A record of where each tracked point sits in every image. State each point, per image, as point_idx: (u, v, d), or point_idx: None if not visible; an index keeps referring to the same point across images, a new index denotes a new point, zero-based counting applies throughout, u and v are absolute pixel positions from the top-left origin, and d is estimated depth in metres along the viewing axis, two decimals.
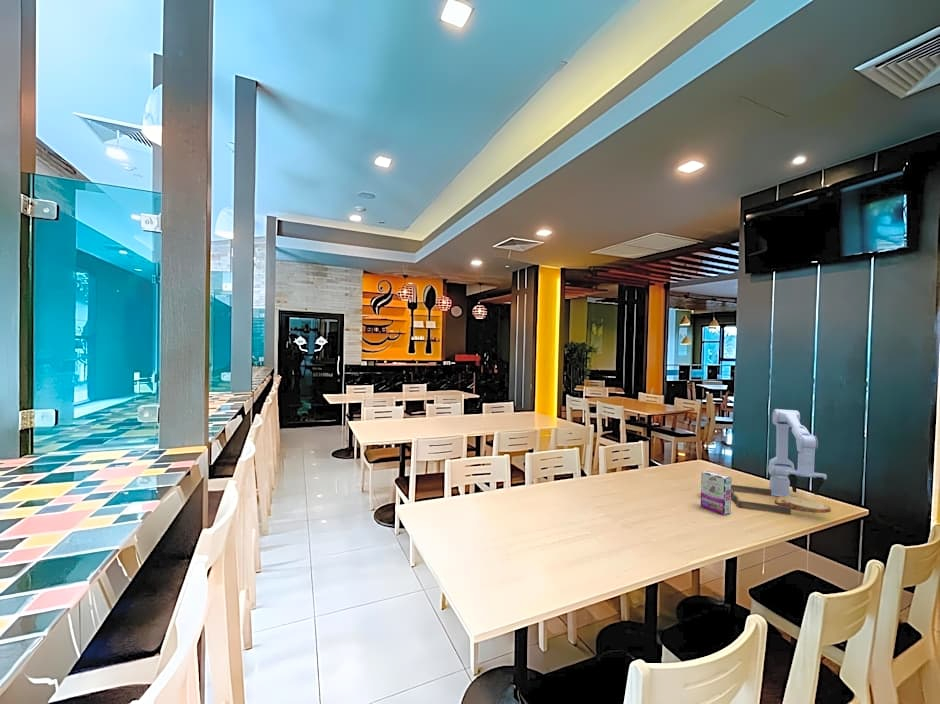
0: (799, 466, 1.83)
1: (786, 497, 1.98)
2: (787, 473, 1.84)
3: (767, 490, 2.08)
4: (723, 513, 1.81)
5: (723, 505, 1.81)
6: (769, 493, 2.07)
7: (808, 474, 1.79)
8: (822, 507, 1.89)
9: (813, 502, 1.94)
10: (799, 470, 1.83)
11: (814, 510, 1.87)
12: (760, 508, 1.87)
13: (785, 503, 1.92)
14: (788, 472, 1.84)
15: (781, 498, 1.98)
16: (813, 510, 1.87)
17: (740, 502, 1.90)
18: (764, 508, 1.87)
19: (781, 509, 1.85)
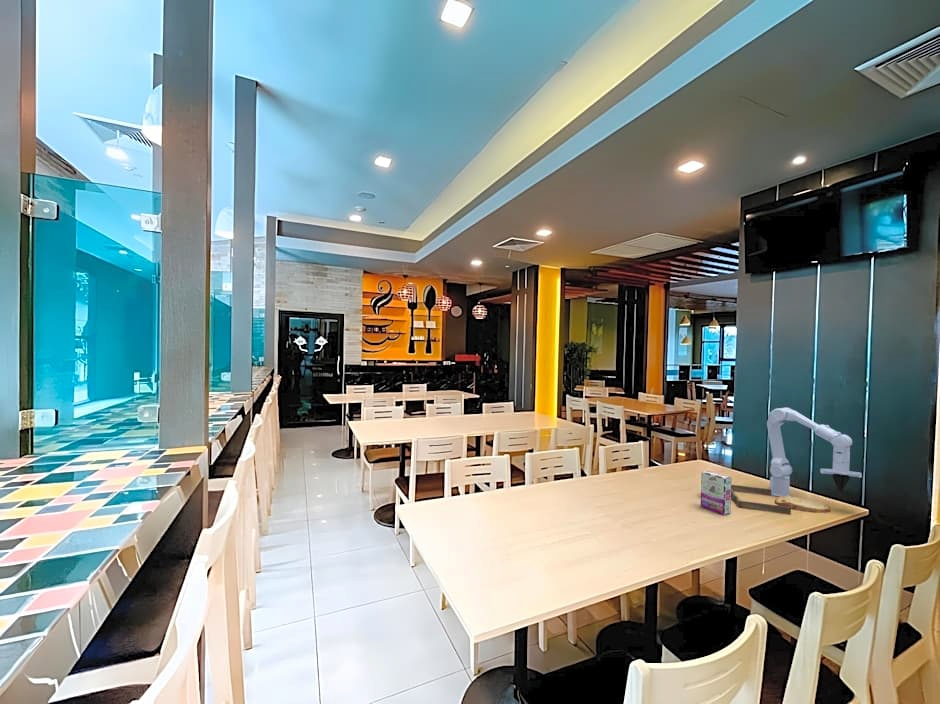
0: (834, 465, 1.89)
1: (786, 497, 1.98)
2: (822, 472, 1.90)
3: (767, 490, 2.08)
4: (723, 513, 1.81)
5: (723, 505, 1.81)
6: (769, 493, 2.07)
7: (844, 472, 1.85)
8: (822, 507, 1.88)
9: (813, 502, 1.94)
10: (834, 469, 1.89)
11: (814, 510, 1.87)
12: (760, 508, 1.87)
13: (785, 503, 1.92)
14: (824, 470, 1.90)
15: (781, 498, 1.98)
16: (813, 510, 1.87)
17: (740, 502, 1.90)
18: (764, 508, 1.87)
19: (781, 509, 1.85)
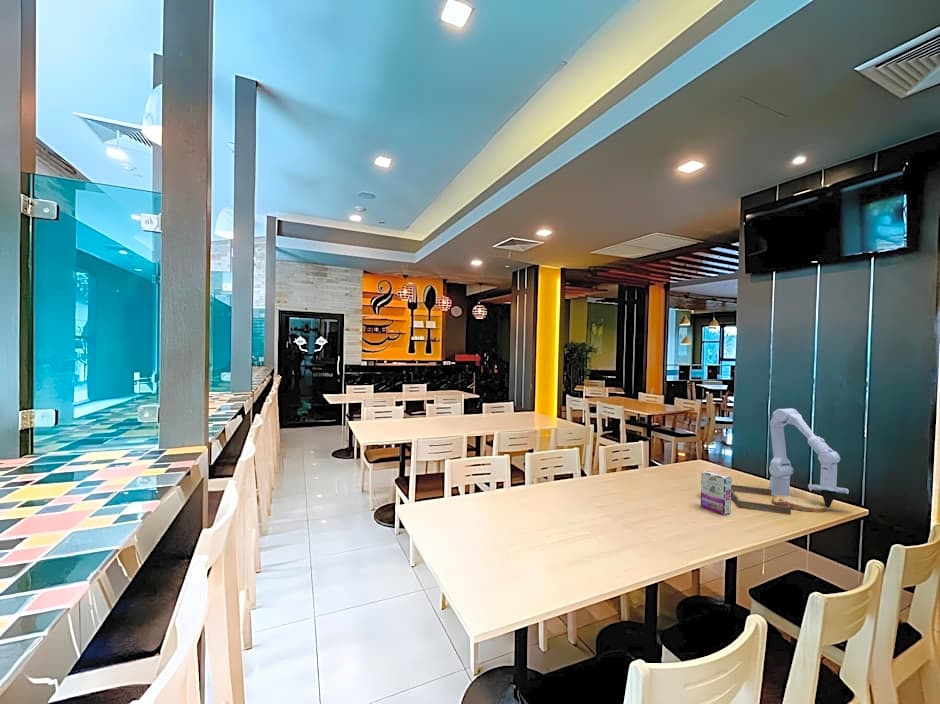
0: (822, 481, 1.90)
1: (783, 497, 1.98)
2: (810, 487, 1.92)
3: (767, 490, 2.08)
4: (723, 513, 1.81)
5: (723, 505, 1.81)
6: (769, 493, 2.07)
7: (831, 489, 1.87)
8: (819, 506, 1.89)
9: (810, 501, 1.94)
10: (822, 485, 1.90)
11: (811, 509, 1.87)
12: (760, 508, 1.87)
13: (782, 502, 1.92)
14: (811, 486, 1.91)
15: (778, 497, 1.98)
16: (810, 509, 1.87)
17: (740, 502, 1.90)
18: (764, 508, 1.87)
19: (781, 509, 1.85)
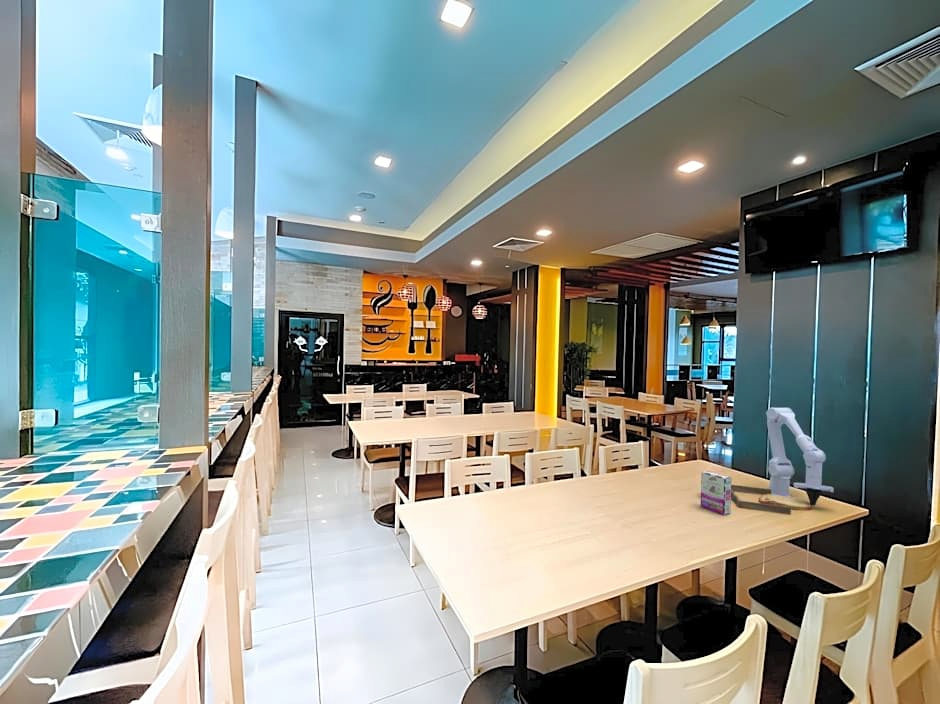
0: (807, 479, 1.92)
1: (769, 496, 2.00)
2: (796, 486, 1.94)
3: (767, 490, 2.08)
4: (723, 513, 1.81)
5: (723, 505, 1.81)
6: (769, 493, 2.07)
7: (816, 487, 1.89)
8: (805, 505, 1.91)
9: (795, 500, 1.96)
10: (807, 483, 1.92)
11: (797, 508, 1.89)
12: (760, 508, 1.87)
13: (769, 501, 1.94)
14: (797, 484, 1.93)
15: (764, 496, 2.00)
16: (796, 508, 1.89)
17: (740, 502, 1.90)
18: (764, 508, 1.87)
19: (781, 509, 1.85)
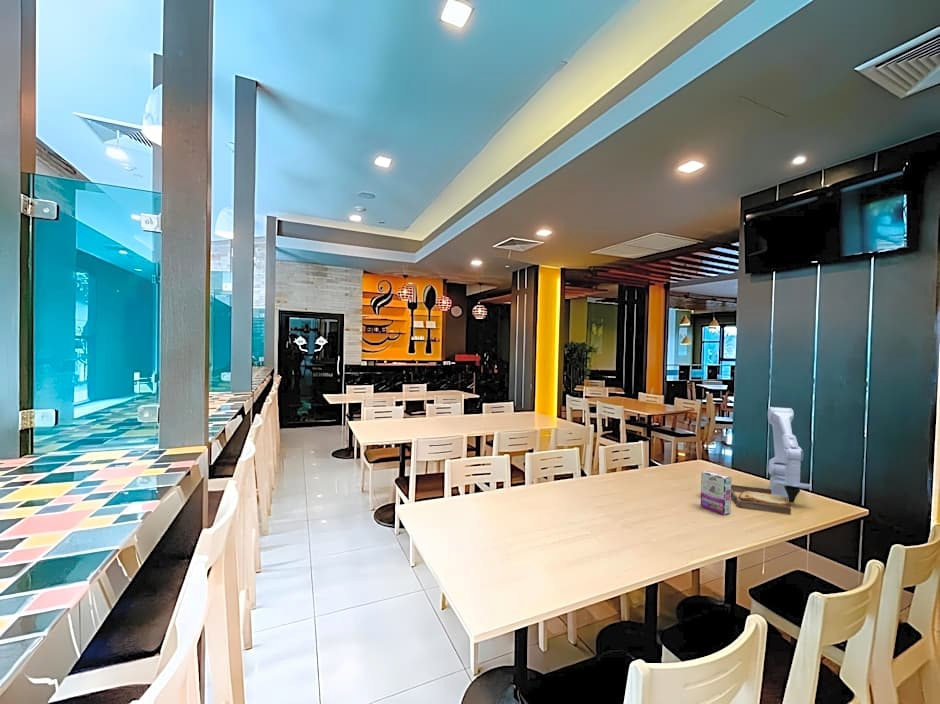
0: (786, 477, 1.95)
1: (749, 492, 2.03)
2: (775, 483, 1.96)
3: (767, 490, 2.08)
4: (723, 513, 1.81)
5: (723, 505, 1.81)
6: (769, 493, 2.07)
7: (794, 485, 1.92)
8: (783, 501, 1.94)
9: (774, 496, 1.99)
10: (786, 481, 1.95)
11: (775, 504, 1.92)
12: (760, 508, 1.87)
13: (748, 498, 1.97)
14: (776, 482, 1.96)
15: (745, 493, 2.03)
16: (775, 504, 1.92)
17: (740, 502, 1.90)
18: (764, 508, 1.87)
19: (781, 509, 1.85)
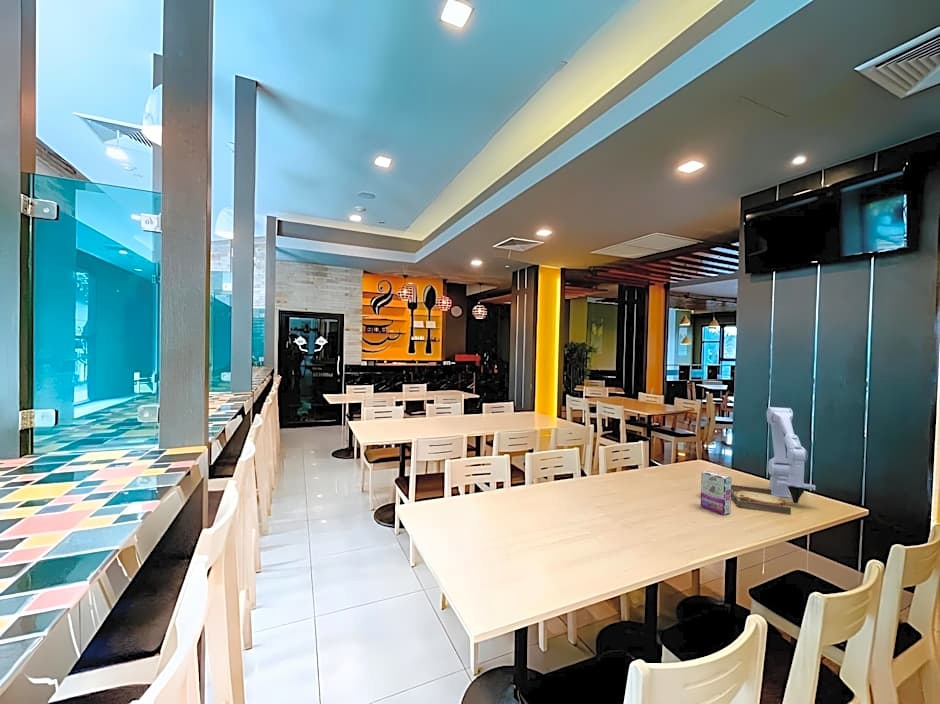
0: (790, 477, 1.94)
1: (744, 492, 2.04)
2: (778, 484, 1.96)
3: (767, 490, 2.08)
4: (723, 513, 1.81)
5: (723, 505, 1.81)
6: (769, 493, 2.07)
7: (798, 485, 1.91)
8: (778, 501, 1.95)
9: (769, 496, 2.00)
10: (790, 481, 1.94)
11: (770, 504, 1.93)
12: (760, 508, 1.87)
13: (743, 498, 1.98)
14: (779, 482, 1.96)
15: (739, 493, 2.04)
16: None
17: (740, 502, 1.90)
18: (764, 508, 1.87)
19: (781, 509, 1.85)
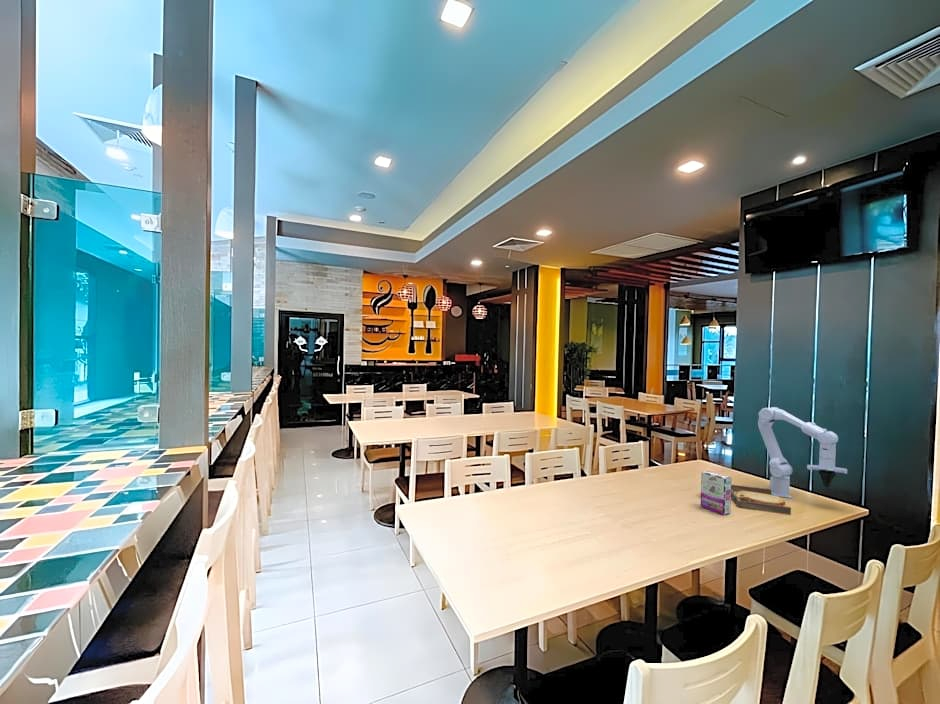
0: (821, 461, 1.93)
1: (744, 492, 2.04)
2: (809, 468, 1.94)
3: (767, 490, 2.08)
4: (723, 513, 1.81)
5: (723, 505, 1.81)
6: (769, 493, 2.07)
7: (830, 468, 1.90)
8: (778, 501, 1.95)
9: (769, 496, 2.00)
10: (821, 465, 1.93)
11: (770, 504, 1.93)
12: (760, 508, 1.87)
13: (743, 498, 1.98)
14: (810, 466, 1.94)
15: (739, 493, 2.04)
16: None
17: (740, 502, 1.90)
18: (764, 508, 1.87)
19: (781, 509, 1.85)
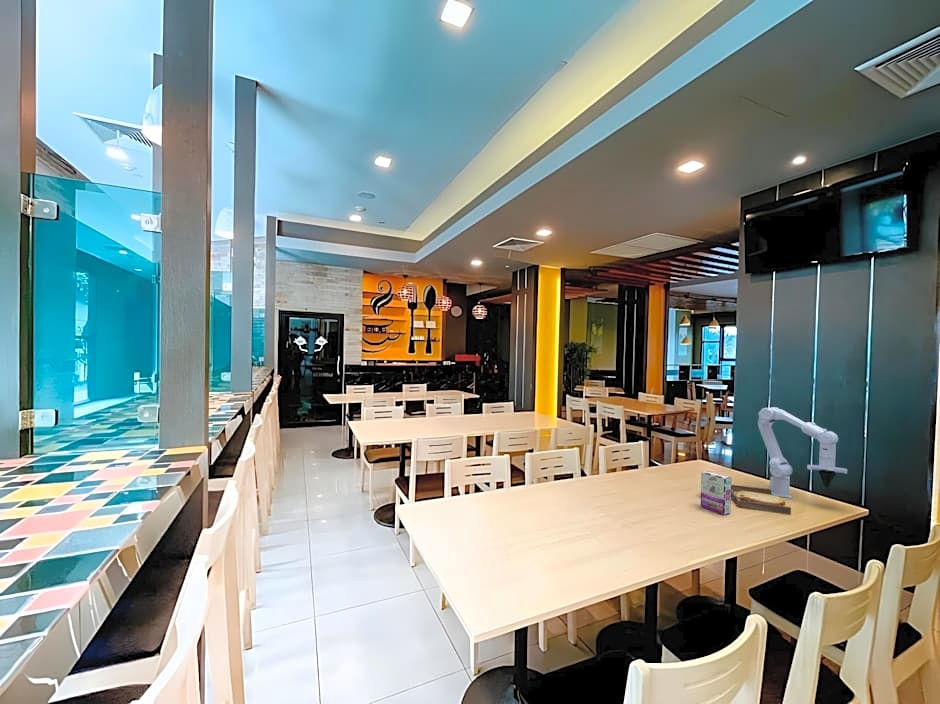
0: (821, 461, 1.93)
1: (744, 492, 2.04)
2: (809, 468, 1.94)
3: (767, 490, 2.08)
4: (723, 513, 1.81)
5: (723, 505, 1.81)
6: (769, 493, 2.07)
7: (830, 468, 1.90)
8: (777, 501, 1.95)
9: (769, 496, 2.00)
10: (821, 465, 1.93)
11: (770, 504, 1.93)
12: (760, 508, 1.87)
13: (743, 498, 1.98)
14: (810, 466, 1.94)
15: (739, 493, 2.04)
16: None
17: (740, 502, 1.90)
18: (764, 508, 1.87)
19: (781, 509, 1.85)
